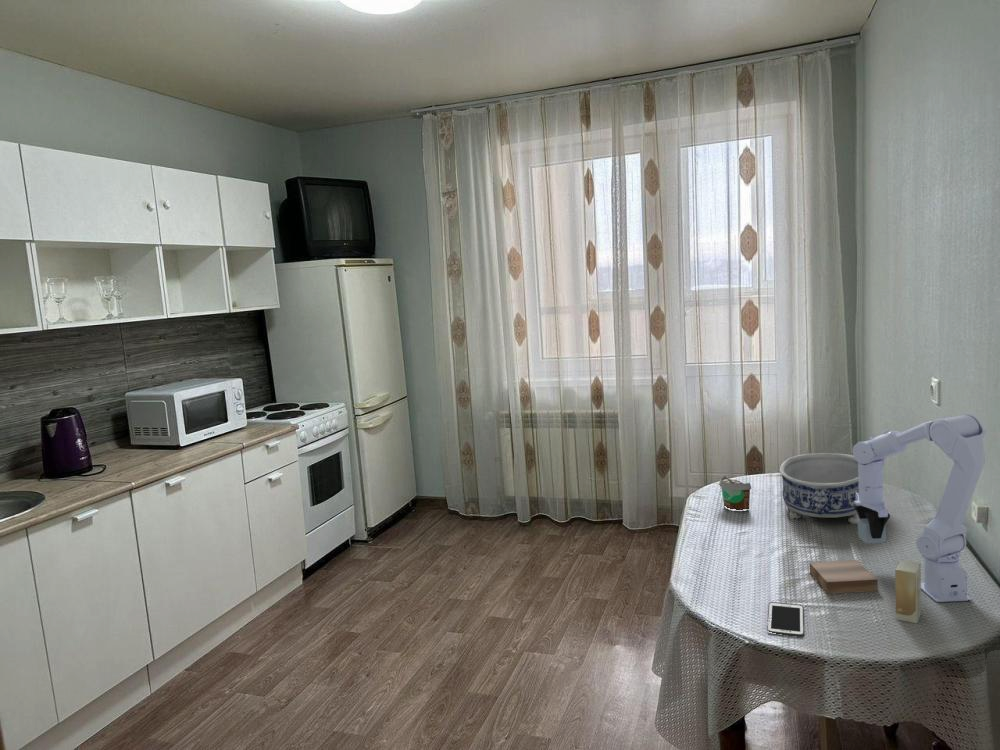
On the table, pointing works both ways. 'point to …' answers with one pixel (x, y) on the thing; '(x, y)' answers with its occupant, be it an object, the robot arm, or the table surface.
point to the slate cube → (866, 534)
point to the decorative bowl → (821, 485)
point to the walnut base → (843, 576)
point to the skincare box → (908, 591)
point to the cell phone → (786, 619)
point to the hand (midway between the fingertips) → (871, 534)
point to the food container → (735, 493)
